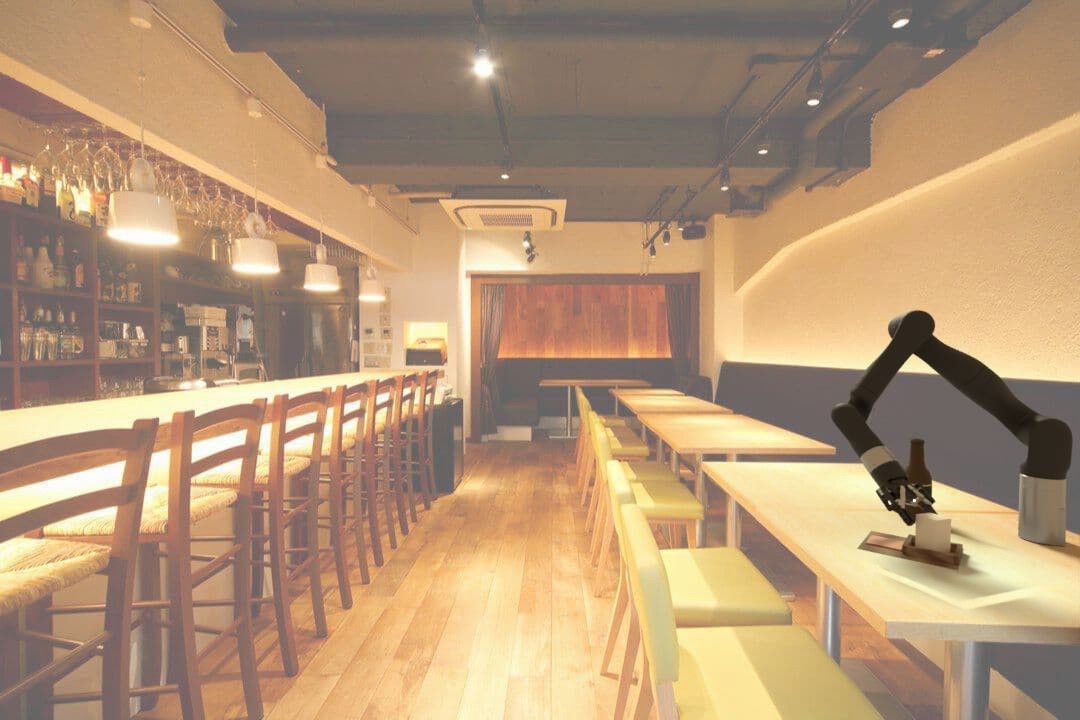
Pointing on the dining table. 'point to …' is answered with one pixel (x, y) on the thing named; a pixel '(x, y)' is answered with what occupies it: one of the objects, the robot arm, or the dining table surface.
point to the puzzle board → (911, 550)
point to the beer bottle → (917, 473)
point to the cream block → (933, 532)
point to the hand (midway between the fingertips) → (924, 523)
